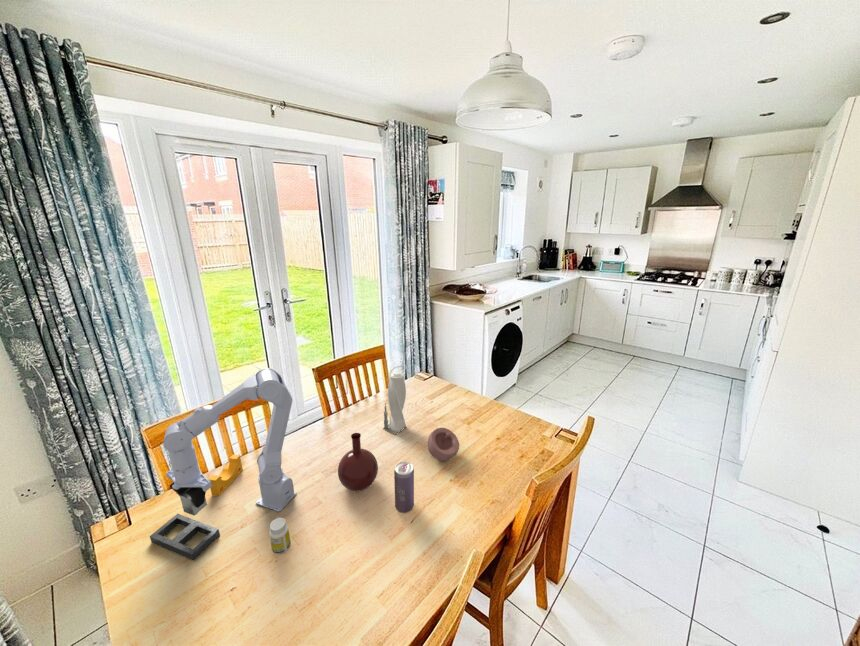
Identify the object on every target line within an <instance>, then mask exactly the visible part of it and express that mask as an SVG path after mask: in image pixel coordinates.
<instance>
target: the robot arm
mask: <svg viewBox="0 0 860 646" xmlns="http://www.w3.org/2000/svg"><path fill="white" fill-rule="evenodd" d="M259 398H260V399H261V400H263V401H267V402H268V403H272V404H273V405H272V406H273V407H272V410H271V416H270V420H269V425H268V429H267V436H266V439H265V445H264V446H263V447H262V450H261V452H260V454H258V456H257V459H256V464H257V466H258V473H259V474H258V477H257V479H258V484H259V485H258V486H259V490H260V496H261V497H259V499H257V500H256V501H255V504H256V505H258V506H261V507H264V508H267V509H271V510H273V511H276V512H281V511H282V510H283V509H284V508H285V507H286V506H287V505H288V503H289V502H290V501H291V500H292V499H293V497H295V495H296V494H297V492H296V491H295V487H294V483H293V479H292V478H291V477H289V476H287V475H286V474H285V472H284V470H283V468H282V464H283V463H282V450H283V446H284V441H285V436H286V432H287V427H288V424H289V423H288V422H289V417H290V415H291V410H292V409H291V408H292V405H293V396H292V395H291V392H290V391H289V389H288V387H287V385H286V383H285V381H284V380H283V377H282V375H281V374H279V372H277V371H276V370H274V368H270V367H265V368H262V369H260V370H258V371H257V372H256V373H253V374H251V375H250V376H249V377H247V379H245V380H244V381H242V383H241V384H239V385H238V386H237V387H236V388H234V389H232V390H231V391H230V392H229V393H227V394H225V395H224V396H223V397H222V398H221V399H219V400H218V401H216V402H215V403H214V404H212V405H208V404H207V405H203V406H202V407H199V406H198V407H196V408H195V409H194V410H193V412H192V413H191V414H189V415H188V416H186V417H185V418H183V419H180V420H177V422H174V423H172V424H170V425H168V427H167V428H166V430H165V434H164V438H163V447H164V449H165V450H167V451H168V458H169V462H170V465H171V469H169V470H168V471H167V472H165V474H166V477H167V479H169V480H172V483H171V484H170V485H169V489H171V490H173V491H174V492H175V493H176V494H177V495H178V496H179V497H180V495H181V494H182V493H183V492H185V491H186V490H187V489H188V488H190V487H192V488H191V489H189V490H188V491H187V492H186V494H188V495H189V496H190V497H191V498H192V500H193V503H194V505H195V506H196V507H197V508H199V507H200V506H201V505H202V504H203V503H204V500H205V498H206V493H207V491H209V489H210V488H211V487H212V485H211V481H209V480H208V479H209V478H208V479H207V477H206V476H205V474H203V473H202V471H201V470H200V466H199V463H198V458H197V454H196V453H197V452H196V449H195V445H194V444H193V439H195V438H196V437H198V436H199V435H201V434H202V433H203V432H205V431H206V430H208V429H209V428H211V427H212V426H213V425H215V424H217V423H219V419H220V416H221V415H222V414H224V413H226V412H228V411H229V410H231V409H232V408H234V407H236V406H237V405H239V404H241V403H242V402H244V401H246V400H249V401H250V400H251V401H259ZM210 490H211V489H210Z"/></svg>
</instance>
